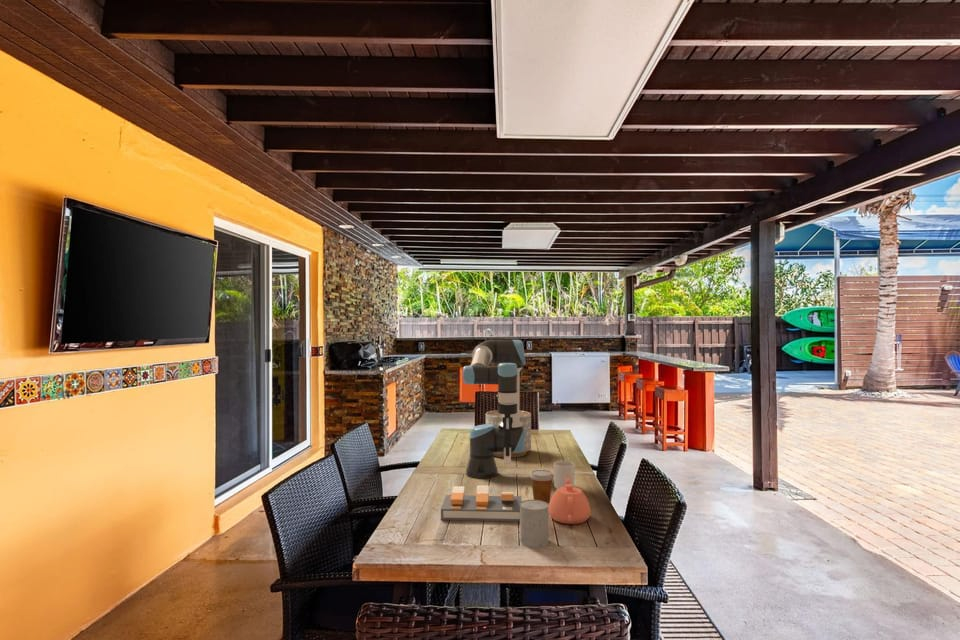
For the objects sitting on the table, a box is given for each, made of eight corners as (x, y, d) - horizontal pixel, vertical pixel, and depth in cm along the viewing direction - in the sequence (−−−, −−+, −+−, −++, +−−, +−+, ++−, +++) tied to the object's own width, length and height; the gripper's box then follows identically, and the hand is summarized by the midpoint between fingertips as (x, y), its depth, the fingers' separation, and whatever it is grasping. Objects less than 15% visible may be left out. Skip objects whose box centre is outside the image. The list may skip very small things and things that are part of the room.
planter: (532, 458, 281) (532, 417, 281) (485, 458, 281) (485, 417, 282) (529, 447, 307) (529, 409, 307) (485, 447, 307) (485, 409, 307)
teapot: (547, 506, 207) (547, 475, 207) (588, 508, 205) (588, 476, 205) (548, 528, 185) (548, 492, 185) (593, 530, 183) (593, 494, 184)
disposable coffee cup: (555, 499, 215) (555, 470, 215) (550, 507, 206) (550, 476, 206) (532, 497, 218) (532, 468, 218) (527, 504, 209) (527, 474, 209)
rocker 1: (453, 491, 206) (453, 486, 205) (464, 491, 205) (464, 486, 205) (450, 504, 196) (450, 499, 195) (462, 504, 196) (462, 499, 195)
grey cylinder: (517, 536, 178) (517, 500, 178) (545, 535, 179) (545, 499, 179) (522, 548, 168) (522, 509, 168) (551, 547, 169) (551, 509, 169)
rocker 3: (501, 497, 204) (501, 491, 205) (513, 497, 204) (513, 492, 204) (501, 500, 194) (501, 494, 195) (513, 500, 194) (513, 494, 195)
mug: (574, 492, 224) (574, 466, 225) (553, 491, 226) (553, 465, 226) (575, 484, 236) (575, 459, 236) (555, 483, 238) (555, 458, 238)
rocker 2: (477, 489, 205) (477, 485, 205) (488, 490, 205) (488, 485, 204) (475, 506, 196) (475, 501, 195) (487, 506, 195) (487, 501, 195)
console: (445, 505, 209) (445, 491, 209) (521, 506, 207) (521, 493, 207) (440, 520, 192) (440, 505, 192) (522, 521, 191) (522, 507, 191)
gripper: (498, 400, 210) (498, 459, 210) (497, 405, 197) (497, 468, 197) (516, 400, 210) (516, 459, 210) (517, 405, 197) (517, 468, 197)
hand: (507, 463), depth 203 cm, fingers closed
